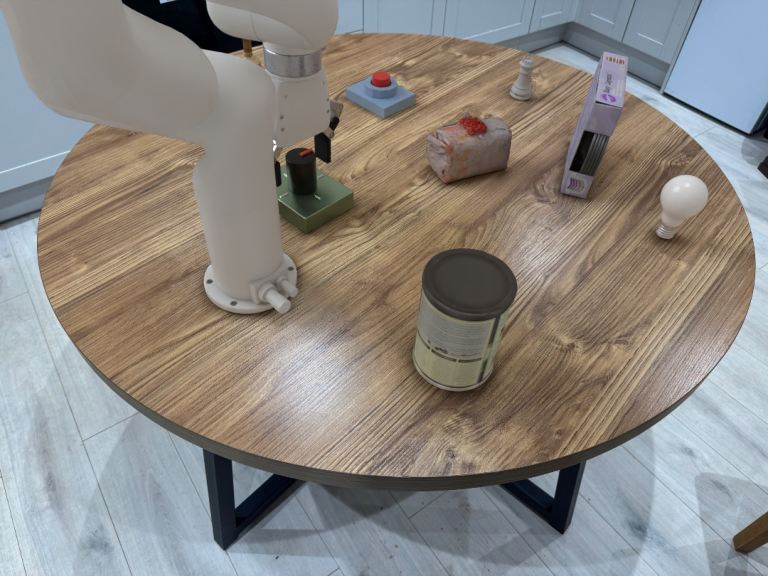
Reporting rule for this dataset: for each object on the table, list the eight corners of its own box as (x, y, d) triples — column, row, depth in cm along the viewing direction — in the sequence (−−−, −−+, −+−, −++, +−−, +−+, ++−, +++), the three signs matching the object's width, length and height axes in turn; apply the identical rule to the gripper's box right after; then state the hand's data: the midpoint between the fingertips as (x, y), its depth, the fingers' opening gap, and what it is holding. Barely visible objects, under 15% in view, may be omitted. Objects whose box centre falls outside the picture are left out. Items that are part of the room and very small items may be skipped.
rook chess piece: (505, 93, 121) (513, 56, 115) (522, 89, 123) (531, 53, 117) (517, 103, 118) (525, 65, 113) (534, 99, 120) (544, 62, 114)
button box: (414, 104, 116) (416, 85, 113) (384, 118, 111) (385, 99, 109) (376, 84, 121) (377, 66, 118) (345, 98, 116) (345, 79, 114)
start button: (393, 84, 114) (394, 76, 113) (381, 90, 112) (381, 81, 111) (380, 78, 115) (381, 69, 114) (368, 83, 114) (368, 75, 112)
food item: (441, 189, 96) (449, 138, 89) (420, 164, 101) (426, 113, 94) (509, 173, 100) (522, 123, 93) (486, 150, 105) (496, 100, 98)
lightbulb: (657, 252, 88) (688, 194, 80) (634, 226, 92) (661, 168, 84) (692, 246, 89) (726, 189, 81) (667, 221, 93) (697, 164, 85)
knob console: (353, 206, 92) (353, 190, 90) (306, 234, 87) (305, 218, 84) (301, 171, 98) (300, 156, 96) (254, 195, 93) (251, 179, 90)
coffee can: (409, 326, 75) (418, 246, 65) (486, 326, 75) (508, 247, 65) (414, 392, 68) (426, 314, 58) (499, 392, 68) (526, 315, 58)
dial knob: (300, 198, 88) (298, 166, 84) (281, 185, 90) (278, 153, 86) (323, 186, 90) (322, 155, 86) (304, 173, 92) (302, 142, 88)
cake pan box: (587, 204, 95) (624, 107, 83) (557, 197, 96) (589, 100, 84) (596, 146, 108) (629, 54, 95) (569, 140, 109) (599, 49, 96)
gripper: (323, 35, 82) (325, 142, 93) (220, 66, 72) (237, 181, 84) (360, 52, 78) (356, 161, 90) (257, 86, 69) (268, 203, 80)
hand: (298, 170), depth 87 cm, fingers open, 9 cm apart
